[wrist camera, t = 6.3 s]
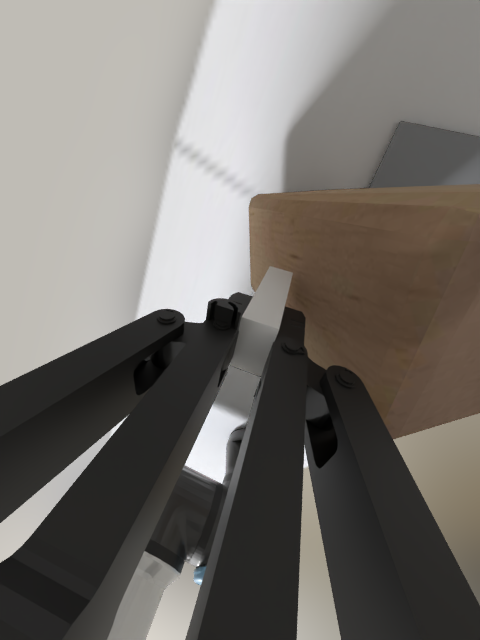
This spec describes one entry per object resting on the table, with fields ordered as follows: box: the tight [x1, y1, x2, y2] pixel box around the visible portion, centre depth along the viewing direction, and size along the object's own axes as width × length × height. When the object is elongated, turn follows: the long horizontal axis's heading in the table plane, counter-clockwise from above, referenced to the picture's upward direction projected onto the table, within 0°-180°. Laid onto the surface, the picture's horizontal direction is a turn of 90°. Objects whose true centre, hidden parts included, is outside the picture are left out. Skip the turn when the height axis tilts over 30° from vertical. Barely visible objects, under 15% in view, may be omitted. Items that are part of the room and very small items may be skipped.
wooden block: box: [249, 184, 480, 439], centre depth 16 cm, size 10×10×20 cm
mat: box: [369, 121, 480, 188], centre depth 24 cm, size 24×22×1 cm
